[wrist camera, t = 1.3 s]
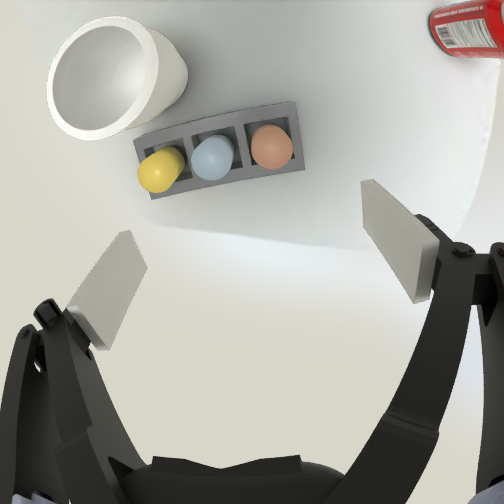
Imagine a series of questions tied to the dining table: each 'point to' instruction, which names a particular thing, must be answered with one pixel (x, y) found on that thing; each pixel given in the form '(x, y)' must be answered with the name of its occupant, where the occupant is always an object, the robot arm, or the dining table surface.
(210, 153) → the light blue rounded piece
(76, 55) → the jar
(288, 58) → the dining table surface
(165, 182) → the mustard button
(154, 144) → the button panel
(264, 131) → the orange brown egg
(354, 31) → the dining table surface
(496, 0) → the soda can
